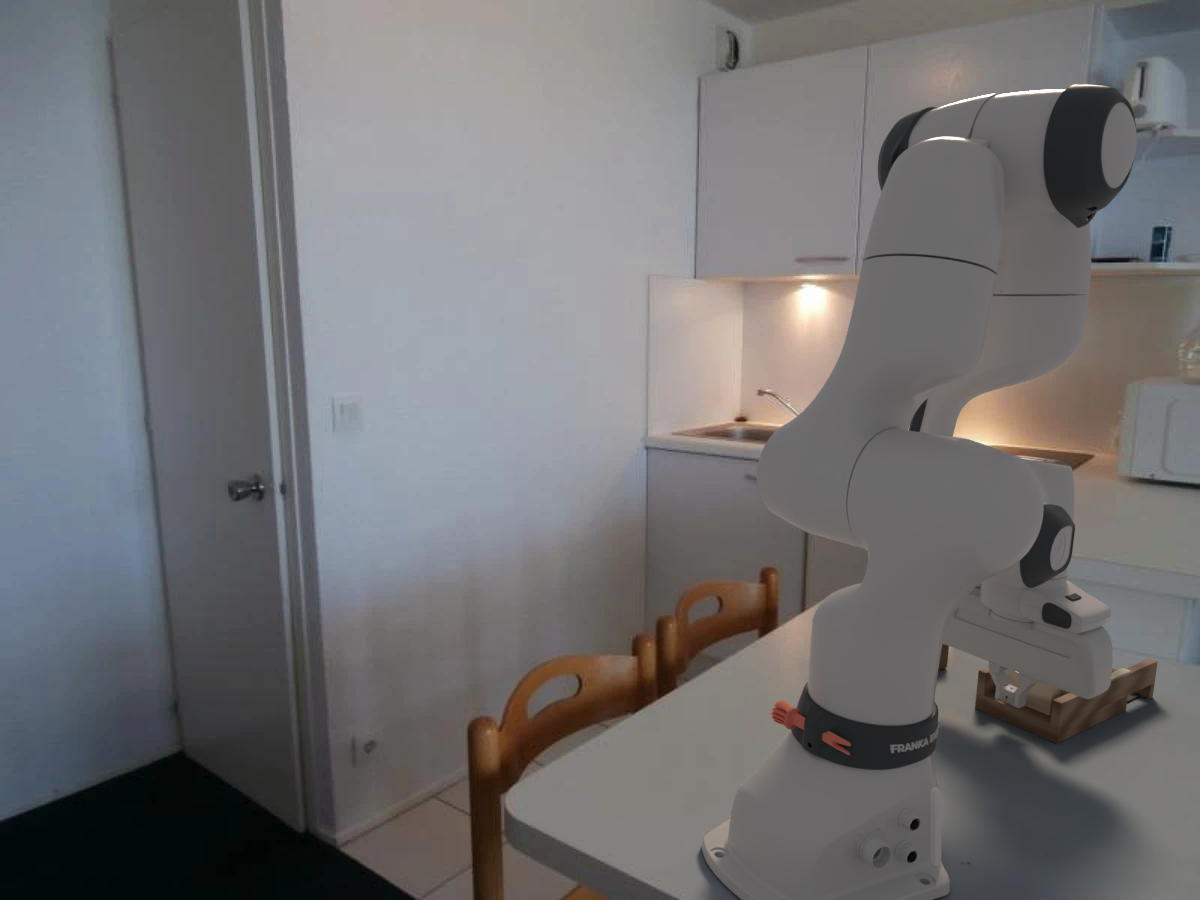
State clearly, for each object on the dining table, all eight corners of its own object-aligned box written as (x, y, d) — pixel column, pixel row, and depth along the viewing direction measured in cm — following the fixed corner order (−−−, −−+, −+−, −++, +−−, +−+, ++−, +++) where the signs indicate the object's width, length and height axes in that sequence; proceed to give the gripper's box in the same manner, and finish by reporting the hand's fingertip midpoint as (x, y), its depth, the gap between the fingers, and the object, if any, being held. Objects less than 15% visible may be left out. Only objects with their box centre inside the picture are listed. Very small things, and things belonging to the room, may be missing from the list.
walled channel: (1056, 743, 98) (1061, 701, 97) (974, 707, 107) (978, 668, 106) (1152, 697, 111) (1158, 659, 110) (1072, 668, 119) (1076, 632, 118)
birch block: (1049, 715, 101) (1053, 684, 100) (1002, 695, 106) (1005, 665, 105) (1076, 703, 104) (1080, 672, 103) (1029, 685, 109) (1032, 655, 108)
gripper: (927, 571, 106) (918, 676, 108) (1096, 624, 89) (1081, 746, 91) (958, 564, 109) (949, 665, 112) (1126, 613, 92) (1111, 731, 95)
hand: (1010, 702), depth 101 cm, fingers closed
